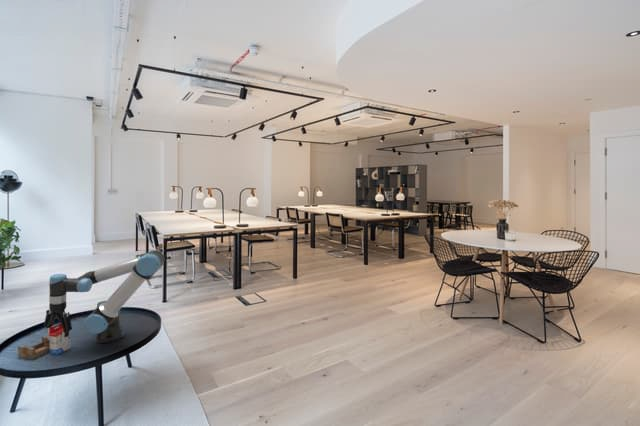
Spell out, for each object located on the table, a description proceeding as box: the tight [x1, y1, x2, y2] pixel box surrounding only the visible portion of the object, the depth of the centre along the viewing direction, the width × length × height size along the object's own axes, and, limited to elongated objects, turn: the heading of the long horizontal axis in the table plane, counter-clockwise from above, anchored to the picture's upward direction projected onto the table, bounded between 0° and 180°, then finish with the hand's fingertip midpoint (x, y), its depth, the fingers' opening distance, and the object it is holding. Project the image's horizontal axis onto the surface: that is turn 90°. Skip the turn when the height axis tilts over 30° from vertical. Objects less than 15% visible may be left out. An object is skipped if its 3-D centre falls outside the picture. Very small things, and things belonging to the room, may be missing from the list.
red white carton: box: [49, 323, 72, 356], centre depth 189 cm, size 8×5×15 cm, turn 168°
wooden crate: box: [17, 335, 50, 361], centre depth 187 cm, size 10×13×6 cm
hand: (57, 340), depth 190 cm, fingers open, 10 cm apart
